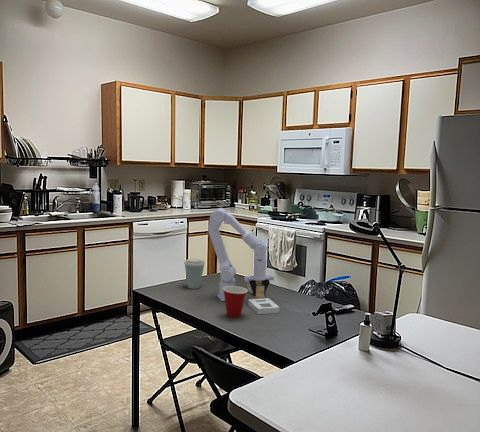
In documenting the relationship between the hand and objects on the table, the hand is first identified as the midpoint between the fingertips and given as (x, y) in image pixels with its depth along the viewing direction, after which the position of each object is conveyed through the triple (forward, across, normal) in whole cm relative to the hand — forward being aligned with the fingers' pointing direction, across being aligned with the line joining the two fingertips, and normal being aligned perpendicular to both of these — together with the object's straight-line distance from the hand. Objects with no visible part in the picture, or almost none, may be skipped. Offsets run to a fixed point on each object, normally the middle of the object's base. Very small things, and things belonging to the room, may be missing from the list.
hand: (258, 295), depth 211 cm
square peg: (+2, 0, 0) cm, 2 cm away
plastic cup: (+3, -17, -18) cm, 25 cm away
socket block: (+2, -2, -12) cm, 12 cm away
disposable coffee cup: (+3, -26, +29) cm, 39 cm away
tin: (+3, +2, +9) cm, 10 cm away
